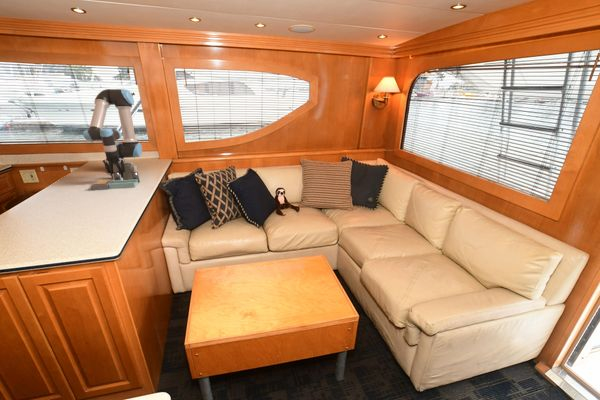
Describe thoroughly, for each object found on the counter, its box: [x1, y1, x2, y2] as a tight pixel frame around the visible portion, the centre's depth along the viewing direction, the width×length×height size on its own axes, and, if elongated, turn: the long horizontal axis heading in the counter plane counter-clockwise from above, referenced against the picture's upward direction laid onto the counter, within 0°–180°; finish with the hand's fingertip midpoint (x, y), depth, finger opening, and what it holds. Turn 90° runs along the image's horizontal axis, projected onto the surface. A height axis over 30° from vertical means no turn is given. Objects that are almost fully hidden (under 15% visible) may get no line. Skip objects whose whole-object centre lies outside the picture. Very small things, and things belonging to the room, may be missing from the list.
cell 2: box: [131, 170, 141, 184], centre depth 203 cm, size 4×4×9 cm
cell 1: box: [113, 171, 120, 180], centre depth 202 cm, size 4×4×9 cm
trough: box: [108, 179, 139, 190], centre depth 195 cm, size 8×16×4 cm, turn 104°
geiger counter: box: [105, 161, 139, 180], centre depth 209 cm, size 14×6×25 cm
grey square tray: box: [90, 179, 114, 191], centre depth 192 cm, size 10×10×4 cm
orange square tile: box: [93, 180, 109, 185], centre depth 191 cm, size 7×7×1 cm
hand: (118, 181), depth 204 cm, fingers closed on cell 1, 4 cm apart
